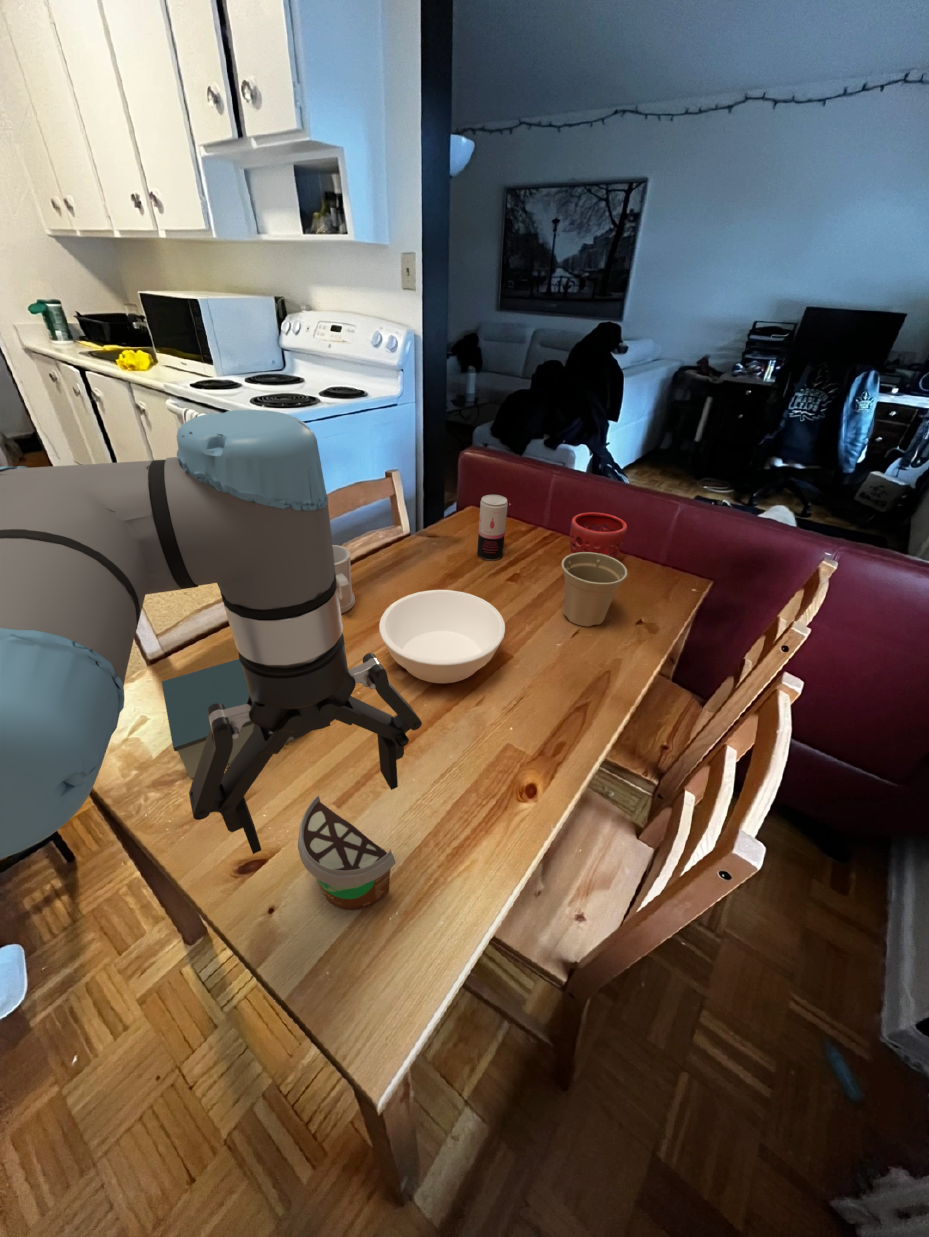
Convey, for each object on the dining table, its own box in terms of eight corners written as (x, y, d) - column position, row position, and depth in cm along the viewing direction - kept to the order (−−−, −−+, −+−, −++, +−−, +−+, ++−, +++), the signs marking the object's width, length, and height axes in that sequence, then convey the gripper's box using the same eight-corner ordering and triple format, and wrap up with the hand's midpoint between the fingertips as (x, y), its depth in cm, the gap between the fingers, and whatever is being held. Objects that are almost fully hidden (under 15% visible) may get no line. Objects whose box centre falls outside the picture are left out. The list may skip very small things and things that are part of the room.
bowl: (409, 717, 81) (407, 679, 76) (365, 640, 97) (362, 604, 92) (524, 678, 90) (529, 642, 85) (466, 613, 106) (468, 579, 101)
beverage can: (505, 552, 130) (511, 497, 121) (497, 563, 125) (503, 506, 116) (482, 547, 131) (486, 492, 123) (473, 557, 126) (476, 501, 118)
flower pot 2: (549, 597, 113) (558, 549, 106) (607, 600, 113) (619, 553, 106) (556, 631, 102) (566, 581, 95) (620, 635, 102) (634, 585, 95)
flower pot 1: (623, 562, 128) (634, 519, 121) (606, 584, 119) (617, 538, 112) (575, 548, 133) (584, 505, 126) (556, 567, 124) (563, 523, 117)
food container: (286, 879, 60) (270, 832, 54) (325, 839, 64) (314, 792, 58) (361, 946, 54) (353, 902, 48) (398, 898, 58) (395, 852, 52)
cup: (369, 599, 109) (365, 550, 102) (349, 622, 102) (343, 571, 95) (326, 589, 111) (320, 541, 104) (304, 611, 104) (295, 561, 97)
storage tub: (188, 781, 70) (173, 747, 66) (175, 714, 80) (161, 681, 75) (305, 736, 77) (299, 703, 73) (280, 680, 87) (273, 648, 83)
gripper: (418, 575, 45) (420, 734, 57) (90, 661, 34) (180, 835, 46) (462, 618, 40) (453, 782, 52) (91, 736, 29) (193, 909, 41)
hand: (325, 807), depth 49 cm, fingers open, 13 cm apart
